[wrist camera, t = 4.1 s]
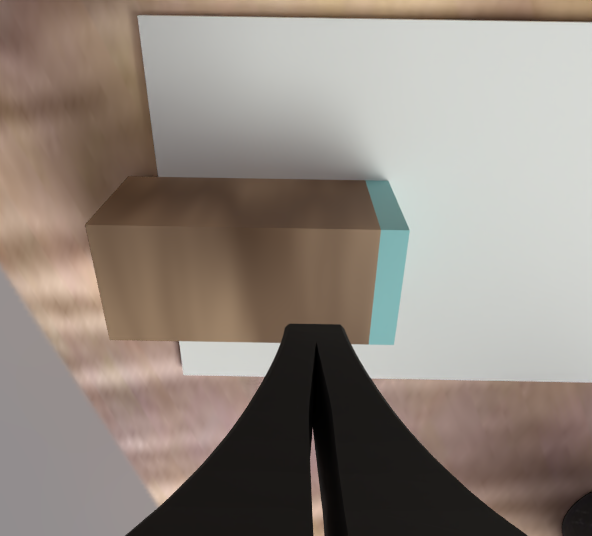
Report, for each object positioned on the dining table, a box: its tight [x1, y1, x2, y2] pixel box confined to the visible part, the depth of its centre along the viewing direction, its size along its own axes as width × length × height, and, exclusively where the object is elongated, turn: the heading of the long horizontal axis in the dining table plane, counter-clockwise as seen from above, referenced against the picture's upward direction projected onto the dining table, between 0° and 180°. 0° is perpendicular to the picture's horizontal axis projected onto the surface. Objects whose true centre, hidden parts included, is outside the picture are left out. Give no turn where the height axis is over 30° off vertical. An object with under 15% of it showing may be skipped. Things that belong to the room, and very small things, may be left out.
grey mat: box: [137, 15, 592, 382], centre depth 19 cm, size 18×14×1 cm
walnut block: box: [85, 176, 410, 345], centre depth 17 cm, size 4×4×9 cm
